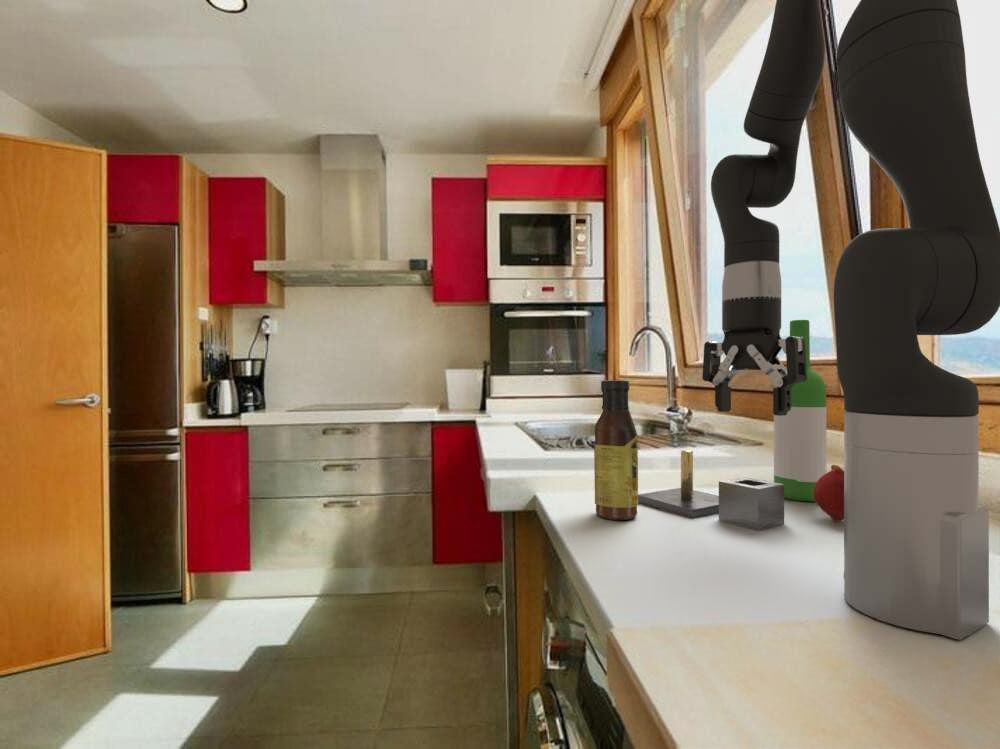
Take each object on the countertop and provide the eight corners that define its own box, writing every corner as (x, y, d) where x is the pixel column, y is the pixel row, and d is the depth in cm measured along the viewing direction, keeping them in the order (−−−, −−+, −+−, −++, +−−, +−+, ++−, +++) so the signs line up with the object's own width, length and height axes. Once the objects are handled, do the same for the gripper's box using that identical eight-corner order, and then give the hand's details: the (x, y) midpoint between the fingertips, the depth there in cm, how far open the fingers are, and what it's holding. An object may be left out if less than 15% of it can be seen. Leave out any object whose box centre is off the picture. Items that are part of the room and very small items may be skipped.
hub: (739, 508, 81) (739, 452, 81) (692, 518, 75) (692, 458, 75) (682, 494, 90) (682, 444, 90) (636, 502, 85) (636, 449, 85)
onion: (848, 516, 76) (847, 461, 76) (872, 527, 71) (871, 468, 71) (806, 515, 77) (806, 461, 77) (826, 526, 71) (826, 467, 71)
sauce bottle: (643, 522, 73) (643, 380, 73) (598, 521, 73) (598, 380, 73) (632, 510, 80) (632, 380, 80) (591, 509, 80) (591, 379, 80)
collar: (784, 524, 72) (784, 484, 72) (758, 530, 69) (758, 489, 69) (744, 514, 77) (744, 477, 77) (718, 519, 74) (718, 481, 74)
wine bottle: (784, 490, 94) (784, 323, 94) (833, 498, 88) (833, 320, 88) (765, 496, 89) (765, 320, 89) (815, 505, 83) (816, 316, 83)
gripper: (818, 293, 69) (817, 416, 69) (723, 305, 81) (723, 409, 81) (785, 288, 65) (785, 418, 65) (691, 302, 78) (691, 411, 78)
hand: (750, 413), depth 73 cm, fingers open, 8 cm apart
